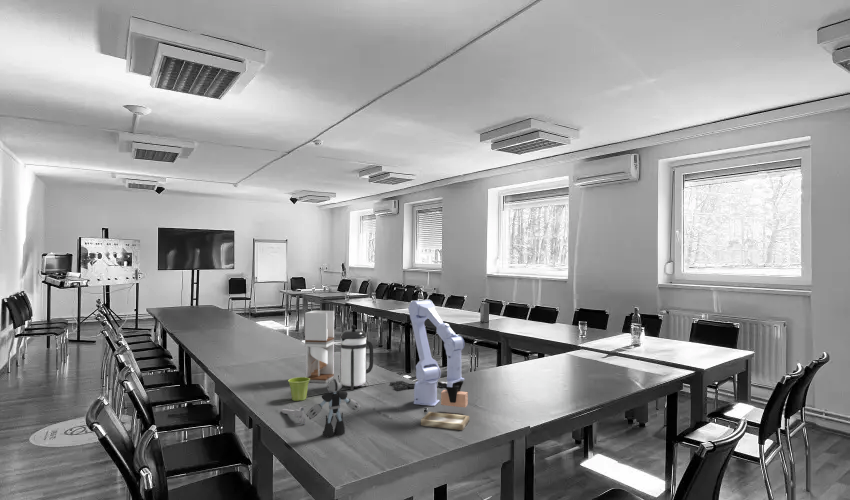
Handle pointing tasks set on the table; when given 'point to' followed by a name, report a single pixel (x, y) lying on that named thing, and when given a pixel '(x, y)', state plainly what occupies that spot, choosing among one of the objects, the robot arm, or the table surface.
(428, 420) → the wooden tray
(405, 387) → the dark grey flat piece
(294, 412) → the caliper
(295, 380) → the plant pot
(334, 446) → the table surface
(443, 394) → the salmon orange block
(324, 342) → the white and brown tower
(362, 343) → the coffee press
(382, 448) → the table surface
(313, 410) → the robot
